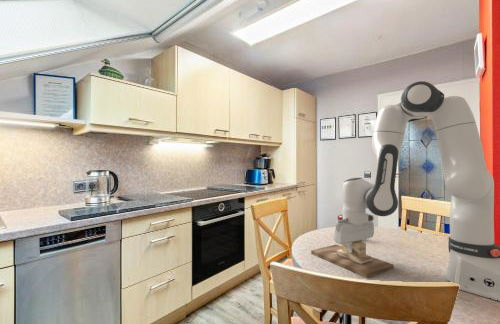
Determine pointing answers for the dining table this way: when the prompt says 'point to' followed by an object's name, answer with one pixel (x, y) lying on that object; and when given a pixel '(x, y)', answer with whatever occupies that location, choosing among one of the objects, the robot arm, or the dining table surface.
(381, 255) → the dining table surface
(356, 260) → the sanding block
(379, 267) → the board
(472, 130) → the robot arm
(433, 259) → the dining table surface
